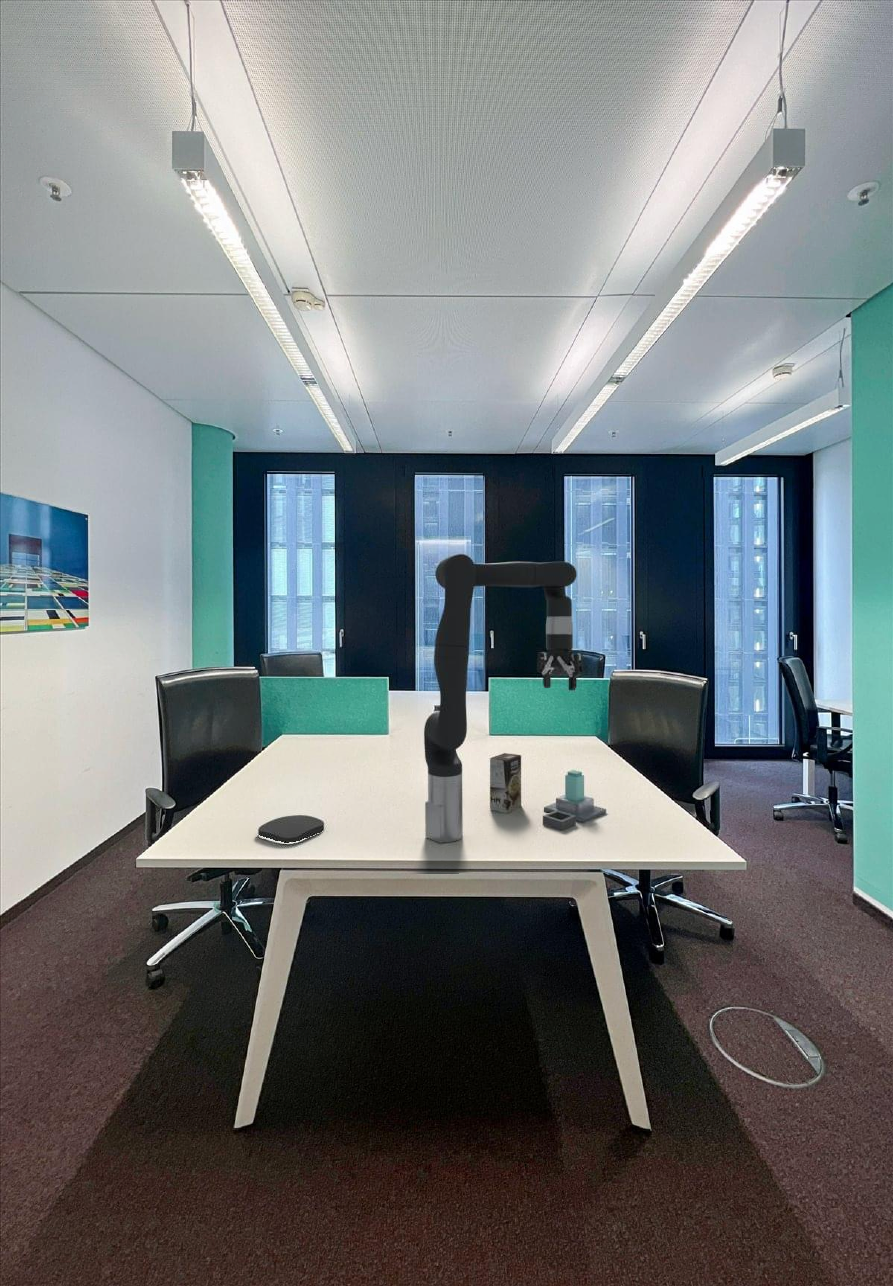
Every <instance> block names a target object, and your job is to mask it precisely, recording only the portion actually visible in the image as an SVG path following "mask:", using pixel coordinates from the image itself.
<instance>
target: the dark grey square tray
mask: <svg viewBox="0 0 893 1286" xmlns="http://www.w3.org/2000/svg"><path fill="white" fill-rule="evenodd" d="M542 825H543V826H547V827H549V828H552V829H556V830H558V831H561V832H563V831H565V830H567V829H570V828H571V827H574V826H577V821H576V816H574V815H571V814H567V813H564V812H561V811H557V810H556V811H554V812H551V813H549V812H548V813H546V814H543V815H542Z"/></svg>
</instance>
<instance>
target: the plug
mask: <svg viewBox="0 0 893 1286" xmlns="http://www.w3.org/2000/svg"><path fill="white" fill-rule="evenodd" d="M564 779H565V781H564V783H565V784H564V785H565V787H564V788H565V791H564V793H565V794H564V795H565V799H567V800H571V801H575V802H579V801H582V800H584V796H585V774H583V773H582V771H579V770H574V769H572V770H569V771H567V774H565V777H564Z"/></svg>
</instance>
